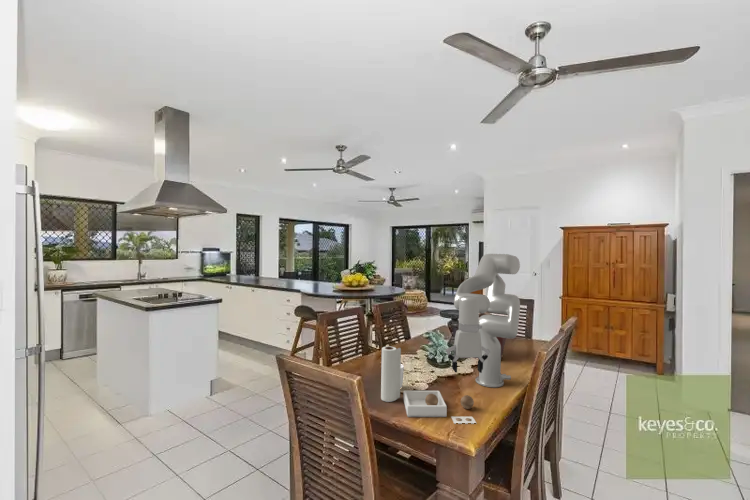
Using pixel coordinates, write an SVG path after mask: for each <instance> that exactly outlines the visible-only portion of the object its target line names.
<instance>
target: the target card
mask: <svg viewBox="0 0 750 500" xmlns="http://www.w3.org/2000/svg"><path fill="white" fill-rule="evenodd" d="M450 418H451V419H452V420H451V421H452V422H453V424H454V425H463V424H462V423H465V424H464V425H469V424H468V423H471V424H470V425H475V424H474V423H476V424H477V421H476V420H475V418H474V417H473V416H450ZM456 423H458V424H456Z"/></svg>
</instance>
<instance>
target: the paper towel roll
mask: <svg viewBox="0 0 750 500" xmlns="http://www.w3.org/2000/svg"><path fill="white" fill-rule="evenodd" d="M401 348H402V347H398V348H396V347H395V346H383V347H381V367H380V368H381V371H380V373H381V374H380V376H381V377H380V378H381V379H380V383H381V384H380V399H381V401H383V402H387V403H389V402H390V403H391V402H394V401H396V400H398V399H400V398H401V390H400V373H401V364H402V362H401V361H402V360H401V359H402V357H401V356H402V349H401Z"/></svg>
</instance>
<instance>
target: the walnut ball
mask: <svg viewBox="0 0 750 500" xmlns="http://www.w3.org/2000/svg"><path fill="white" fill-rule="evenodd" d="M460 405H461V406H462V407H463V408H464V409H465V410H470V409H472V408H473V407H474V399H473V397H472V396H470V395H466V394H465V395H463V396H462V397H461V399H460Z"/></svg>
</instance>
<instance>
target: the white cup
mask: <svg viewBox="0 0 750 500" xmlns="http://www.w3.org/2000/svg"><path fill="white" fill-rule="evenodd" d="M404 367H405V366H404V364H402V363H401V373H400V388H401V387H402V388H403V382H404V370H405V369H404Z"/></svg>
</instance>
